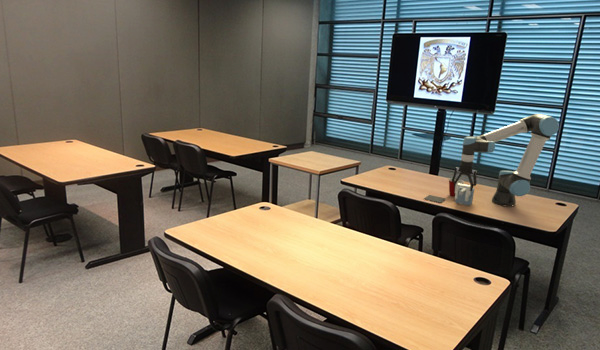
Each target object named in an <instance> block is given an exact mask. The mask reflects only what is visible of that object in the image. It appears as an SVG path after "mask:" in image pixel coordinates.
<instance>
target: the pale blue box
mask: <svg viewBox="0 0 600 350" xmlns="http://www.w3.org/2000/svg"><path fill="white" fill-rule="evenodd" d="M469 186H470V184H467V183H466V184H465V183H463V184H460V183H458V184H457V185H456V193H455V197H454V200H455V199H458V198H459V191H460V187H461V188H466V195H465V201H468V200H469V196H468V193H469Z"/></svg>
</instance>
